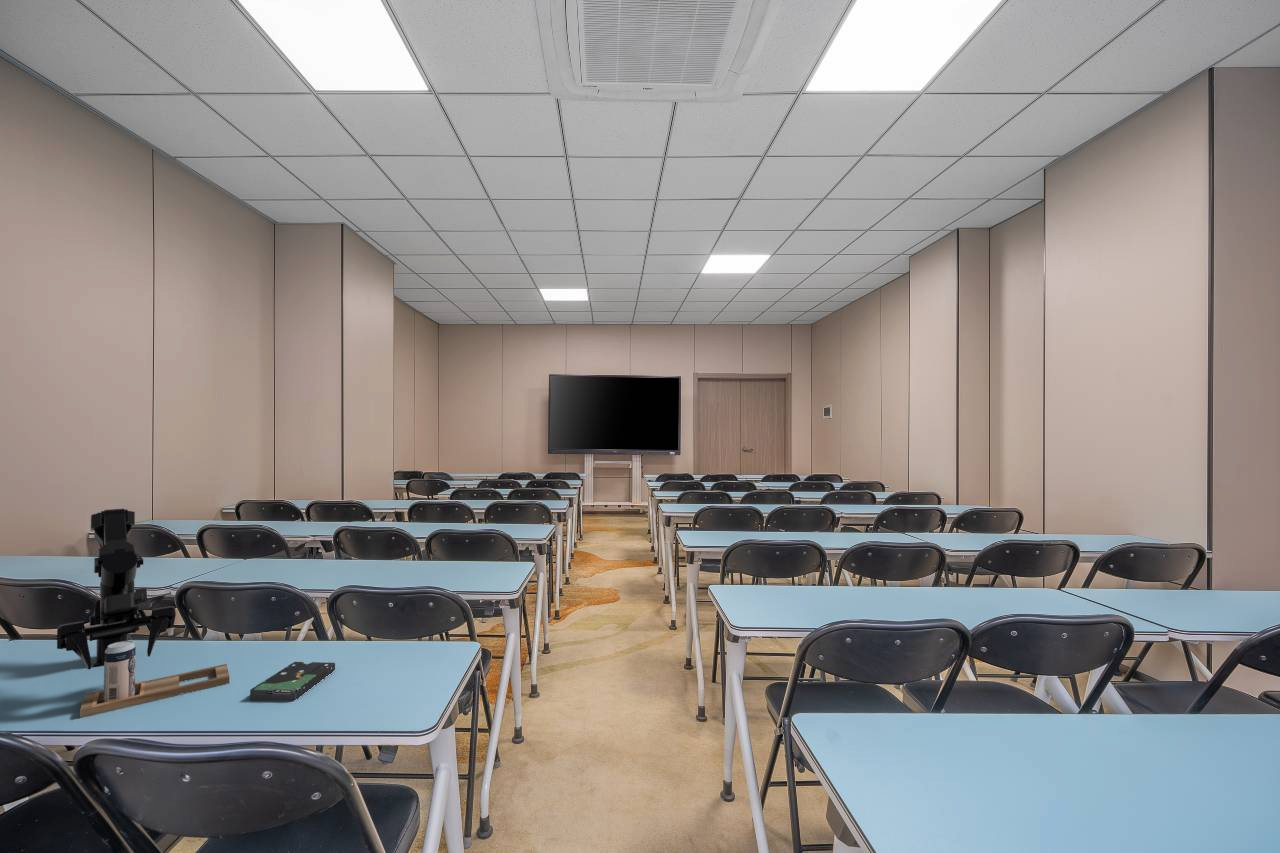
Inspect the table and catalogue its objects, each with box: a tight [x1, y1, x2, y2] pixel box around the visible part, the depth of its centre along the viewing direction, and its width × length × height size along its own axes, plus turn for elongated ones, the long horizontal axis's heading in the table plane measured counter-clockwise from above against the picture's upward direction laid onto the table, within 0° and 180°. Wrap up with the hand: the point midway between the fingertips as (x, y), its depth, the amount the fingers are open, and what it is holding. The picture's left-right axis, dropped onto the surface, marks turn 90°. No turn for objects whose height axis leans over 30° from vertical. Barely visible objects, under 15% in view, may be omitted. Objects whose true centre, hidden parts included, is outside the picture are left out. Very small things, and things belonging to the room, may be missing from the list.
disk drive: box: [249, 661, 336, 701], centre depth 125 cm, size 10×3×15 cm
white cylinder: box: [103, 640, 137, 703], centre depth 117 cm, size 5×5×12 cm
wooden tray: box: [79, 663, 230, 719], centre depth 121 cm, size 9×24×2 cm, turn 130°
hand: (120, 661), depth 117 cm, fingers open, 9 cm apart
